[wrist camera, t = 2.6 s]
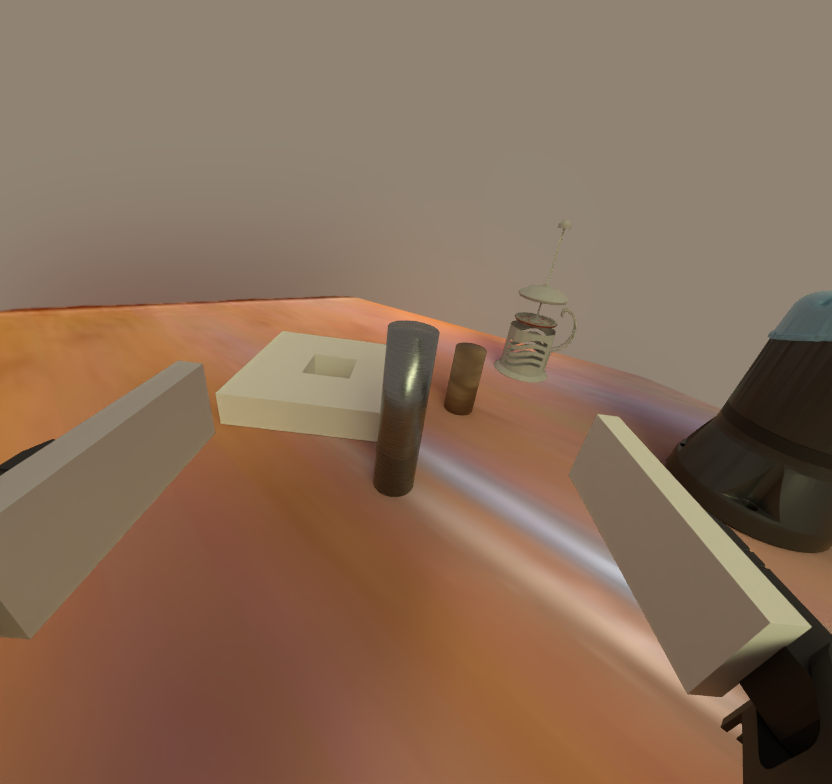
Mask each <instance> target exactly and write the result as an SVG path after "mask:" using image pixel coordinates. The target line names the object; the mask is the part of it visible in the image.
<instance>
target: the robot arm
mask: <svg viewBox="0 0 832 784" xmlns="http://www.w3.org/2000/svg"><path fill="white" fill-rule="evenodd" d="M768 337H769V338H770V339H769V341H768V342H767V344H766V345H765V346H764V348H763V349H762V351H761V352H760V354H759V355H758V357H757V358H756V360H755V361H754V363H753V364H752V365H751V367H750V368H749V370H748V371H747V373H746V374H745V375H744V377H743V378H742V380H741V381H740V383H739V384H738V386H737V387H736V389H735V390H734V392H733V393H732V394H731V396H730V397H729V399H728V400H727V402H726V403H725V405H724V406H723V408H722V409H721V411H720V412H719V413H718V414H717V416H715V417H714V418H713V419H711V420H710V421H708V422H707V423H706V424H704V425H703V426H701V427H700V428H699V429H697V430H696V431H695V432H694V433H692V434H691V435H690V436H689V437H688V438H687V439H684V440H682V441H681V442H680V443H678V444H677V445H676V446H675V448H674V450H673V451H672V453H671V454H670V456H669V457H668V459H667V463H666V465H667V469H666V468H665V467H664V466H663V465H662V463H661V462H660V461H659V460H658V459H657V458H656V457H655V456H654V455H653V454H652V453H651V451H650V450H649V449H648V448H647V447H646V446H645V445H644V444H643V443H642V442H641V441H640V440H639V438H638V437H637V436H636V435H635V434H634V433H633V432H632V431H631V430H630V429H629V428H628V426H627V425H626V424H625V423H624V422H623V421H622V420H621V419H620V418H619V417H617V416H609V415H601V414H597V415H596V417H595V419H594V421H593V424H592V426H591V428H590V430H589V432H588V434H587V436H586V439H585V441H584V443H583V445H582V447H581V449H580V451H579V454H578V456H577V458H576V460H575V462H574V464H573V466H572V469H571V471H570V473H569V476H570V478H571V480H572V482H573V484H574V486H575V487H576V489H577V491H578V493H579V495H580V497H581V498H582V500H583V502H584V504H585V506H586V508H587V510H588V511H589V513H590V515H591V517H592V519H593V521H594V523H595V524H596V526H597V528H598V530H599V532H600V534H601V535H602V537H603V539H604V541H605V543H606V545H607V547H608V548H609V550H610V552H611V554H612V556H613V558H614V560H615V561H616V563H617V565H618V567H619V569H620V571H621V572H622V574H623V576H624V578H625V580H626V582H627V584H628V585H629V587H630V589H631V591H632V593H633V595H634V597H635V598H636V600H637V602H638V604H639V606H640V608H641V609H642V611H643V613H644V615H645V617H646V619H647V621H648V622H649V624H650V626H651V628H652V630H653V632H654V634H655V635H656V637H657V639H658V641H659V643H660V645H661V646H662V648H663V650H664V652H665V654H666V656H667V658H668V659H669V661H670V663H671V665H672V667H673V669H674V671H675V672H676V674H677V676H678V678H679V680H680V682H681V683H682V685H683V687H684V689H685V691H686V693H687V694H691V695H703V696H715V697H722V696H724V695H725V694H726V693H728V692H729V691H730V690H731V689H733V688H734V687H735V686H737V685H738V684H739V683H740V685H741V686H742V688H743V689H744V691H745V692H746V694H747V695H748V697H749V698H750V700H749V701H747V702H746V703H745V704H743V705H742V706H741V707H739V708H738V709H736V710H735V711H734V712H732V713H731V714H729V715H728V716H727V717H725V718H724V719H723V722H722V725H721V728H722V729H723V730H725V731H726V732H728V731H730V730H731V729H733V728H734V727H735V726H737V725H738V724H740V723H741V724H742V734H741V735H740V736H738V737H737V740H738V741H739V742H741V743H742V744H743V784H832V634H830V633H829V631H828V630H827V629H826V628H825V627H824V626H823V625H822V624H821V623H820V622H819V621H818V620H817V619H816V618H815V617H814V616H813V615H812V614H811V613H810V611H809V610H808V609H807V608H806V607H805V606H804V605H803V604H802V603H801V602H800V601H799V600H798V599H797V598H796V597H795V596H794V595H793V594H792V593H791V591H790V590H789V589H788V588H787V587H786V586H785V585H784V584H783V583H782V582H781V581H780V580H779V579H778V578H777V577H776V576H775V575H774V574H773V572H772V571H771V570H770V569H766V568H765V564H764V563H763V562H762V561H761V560H760V559H759V558H758V557H757V556H756V555H755V554H754V552H750V550H749V549H750V548H749V547H748V546H747V545H746V544H745V543H744V542H743V541H742V540H741V539H740V538H739V537H738V536H737V535H736V533H735V532H734V531H733V530H732V529H730V528H729V527H728V526H726V525H725V524H724V523H722V522H721V521H723V522H725V523H726V524H728V525H730V526H732V527H734V528H735V529H737V530H739V531H741V532H743V533H745V534H747V535H750V536H752V537H754V538H756V539H759V540H761V541H764V542H766V543H769V544H772V545H775V546H778V547H781V548H784V549H788V550H792V551H798V552H804V553H819V552H823V551H826V550H828V549H829V548H830V547H831V546H832V291H821V292H815V293H812V294H809V295H806V296H804V297H803V298H801V299H799V300H798V301H797V302H796V303H795V304H794V305H793V306H792V307H791V309H790V310H789V311H788V313H787V314H786V316H785V317H784V318H783V319H782V321H781V322H780V323H779V325H778V326H777V327H776V329H775V330H773V331H771V332H770V333H769V335H768ZM214 434H215V429H214V424H213V418H212V413H211V407H210V401H209V396H208V390H207V385H206V379H205V374H204V368H203V364H201V363H194V362H186V361H177V362H175V363H174V364H172V365H170V366H169V367H167V368H166V369H164V370H163V371H161V372H160V373H158V374H157V375H155V376H154V377H152V378H150V379H149V380H147V381H146V382H144V383H143V384H141V385H140V386H138V387H137V388H135V389H133V390H132V391H130V392H129V393H127V394H126V395H124V396H123V397H121V398H120V399H118V400H116V401H115V402H113V403H112V404H110V405H109V406H107V407H106V408H104V409H103V410H101V411H100V412H98V413H96V414H95V415H93V416H92V417H90V418H89V419H87V420H86V421H84V422H83V423H81V424H79V425H78V426H76V427H75V428H73V429H72V430H70V431H69V432H67V433H66V434H64V435H62V436H61V437H59V438H58V439H56V440H55V439H52V440H49V441H47V442H44V443H42V444H39V445H37V446H34V447H32V448H30V449H27V450H25V451H22V452H20V453H19V454H17V455H16V456H14V457H12V458H11V459H9V460H8V461H6V462H4V463H3V464H1V465H0V637H8V638H20V639H31V638H32V637H33V636H34V635H35V634H36V633H37V632H38V631H39V629H40V628H41V627H42V626H43V625H44V624H45V623H46V622H47V621H48V619H49V618H50V617H51V616H52V615H53V614H54V613H55V612H56V610H57V609H58V608H59V607H60V606H61V605H62V604H63V603H64V602H65V600H66V599H67V598H68V597H69V596H70V595H71V594H72V593H73V591H74V590H75V589H76V588H77V587H78V586H79V585H80V584H81V583H82V581H83V580H84V579H85V578H86V577H87V576H88V575H89V574H90V572H91V571H92V570H93V569H94V568H95V567H96V566H97V565H98V564H99V562H100V561H101V560H102V559H103V558H104V557H105V556H106V555H107V554H108V552H109V551H110V550H111V549H112V548H113V547H114V546H115V545H116V543H117V542H118V541H119V540H120V539H121V538H122V537H123V536H124V535H125V533H126V532H127V531H128V530H129V529H130V528H131V527H132V526H133V524H134V523H135V522H136V521H137V520H138V519H139V518H140V517H141V516H142V514H143V513H144V512H145V511H146V510H147V509H148V508H149V507H150V506H151V504H152V503H153V502H154V501H155V500H156V499H157V498H158V497H159V495H160V494H161V493H162V492H163V491H164V490H165V489H166V488H167V487H168V485H169V484H170V483H171V482H172V481H173V480H174V479H175V478H176V476H177V475H178V474H179V473H180V472H181V471H182V470H183V469H184V468H185V466H186V465H187V464H188V463H189V462H190V461H191V460H192V459H193V457H194V456H195V455H196V454H197V453H198V452H199V451H200V450H201V449H202V447H203V446H204V445H205V444H206V443H207V442H208V441H209V440H210V439H211V437H212V436H213V435H214ZM704 509H705V510H706V511H707V512H706V511H705V510H704ZM708 512H709V513H708ZM714 516H715V517H714ZM717 518H718V519H720V520H721V521H720V520H718V519H717Z"/></svg>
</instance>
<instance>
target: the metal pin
mask: <svg viewBox="0 0 832 784" xmlns="http://www.w3.org/2000/svg"><path fill="white" fill-rule="evenodd" d="M438 339H439V331H438V329H436V328H435V327H433V326H431V325H428V324H425V323H421V322H416V321H395V322H392V323H390V324H389V325H388V333H387V343H386V354H385V364H384V375H383V385H382V396H381V406H380V417H379V427H378V438H377V448H376V459H375V469H374V480H373V483H374V486H375V488H376V489H377V490H378V491H379V492H380V493H382V494H384V495H386V496H390V497H399V496H403V495H406V494H407V493H409V492H410V491H411V489H412V487H413V483H414V477H415V472H416V466H417V460H418V454H419V448H420V443H421V437H422V431H423V425H424V420H425V414H426V408H427V402H428V396H429V391H430V385H431V379H432V373H433V367H434V362H435V356H436V350H437V344H438Z"/></svg>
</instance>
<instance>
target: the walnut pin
mask: <svg viewBox="0 0 832 784" xmlns="http://www.w3.org/2000/svg"><path fill="white" fill-rule="evenodd" d="M486 353H487V350H486V349H485V348H484V347H482V346H480V345H477V344H473V343H459V344H457V345H456V349H455V354H454V359H453V364H452V369H451V374H450V379H449V383H448V388H447V393H446V398H445V403H444V407H445V408H446V410H448V411H449V412H451V413H453V414H457V415H467V414H470V413H471V412H472V409H473V405H474V401H475V397H476V393H477V389H478V385H479V381H480V377H481V373H482V369H483V365H484V361H485V357H486Z"/></svg>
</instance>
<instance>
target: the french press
mask: <svg viewBox="0 0 832 784" xmlns="http://www.w3.org/2000/svg"><path fill="white" fill-rule="evenodd" d="M558 228H563V232H562V235H561V239H560V242H559V245H558V249H559V246H560V243H561V240H562V237H563V234H564V230H565V229H571V222H570V221H568V220H563V221H561V222H560V223H559V226H558ZM558 249H557V252H556V255H555V258H554V261H553V265H552V268H551V271H550V274H549V277H548V280H547V284H545V285H532V286H528V287H526V288H523V289H521V290H519V294H520V296H522V297H524V298H526V299H529V300H532V301H535V302H539V303H540V306H539V309H538V313H537V314H534V313H533V314H532V313H524V312H523V313H517V314H516V315H515V317H516V319H517V321H513V322H512V323H511V326H510V329H509V333H508V336H507V340H506V343H505V347H504V351H503V354H502V358H500V359H499V360H497V361H496V362H495V363H494V365H495V368H496V369H497V370H498V371H499V372H500V373H502V374H504V375H506V376H508V377H510V378H513V379H516V380H519V381H525V382H541V381H544V380H546V378H547V374H546V372H545V371H544V370H545V368H546V365H547V362H548V359H549V356H550V353H552V352H555V351H559V350H562V349H563V348H565V347H567V346H568V345H569V344H570V343H571V341H572V340H573V338H574V336H575V333H576V331H577V324H576V319H575V316H574V315H573V313H572V312H571V311H570V310H569V309H568V308H564V309H567V310H565V311H564V309H563V310H562V312H561V317H563V316H564V313H565V312H568V313H569V314H570V315H572V317H573V319H574V328H573V331H572V334H571V336H570V337H569V339H568V340H567V341H566V342H565V343H564V344H561V345H560V346H556V347H551V346H552V343H553V340H554V337H555V330H554V329H552V328H554V327H556V326H557V322H556V321H555V320H553V319H551V318H550V319H549V318H548V317H544V316H540V315H538V314H539V310H540V307H541V304H542V303H544V304H550V305H565V304H566V303H567V302H568V301H569V300H568V299H567V298H566V296H565V295H564V294H563V293H561V292H560V291H558V290H556V289H555V288H553V287H550V286H549V285H548V281H549V278H550V275H551V272H552V269H553V266H554V262H555V259H556V256H557V253H558ZM529 328H538V329H539V330H541V331H543V332H544V333H545V334H546V336H544V335H541V334H539V333H538V332H530V331H529V332H524V331H522V330H526V329H529ZM574 330H575V331H574ZM573 333H574V334H573ZM572 335H573V336H572ZM571 337H572V338H571ZM570 338H571V340H570ZM510 339H512V340H513V341H514V342H510ZM569 340H570V341H569ZM568 341H569V342H568ZM522 342H535V343H536V344H538V345H530V344H525V345H521V346H516V345H515V344H519V343H522ZM541 342H543V343H544V344H542V343H541ZM567 342H568V344H567V345H566V346H565V347H563V348H561V349H557V350H552V351H550V350H551V349H553V348H558V347H561V346H563V345H565V344H566V343H567ZM508 346H510V348H508ZM521 349H534V350H535V351H537V352H538V353H537V352H531V351H526V350H523V351H519V352H516V353H515V352H510V351H514V350H521ZM540 350H541V351H540ZM506 353H508V354H506Z"/></svg>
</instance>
